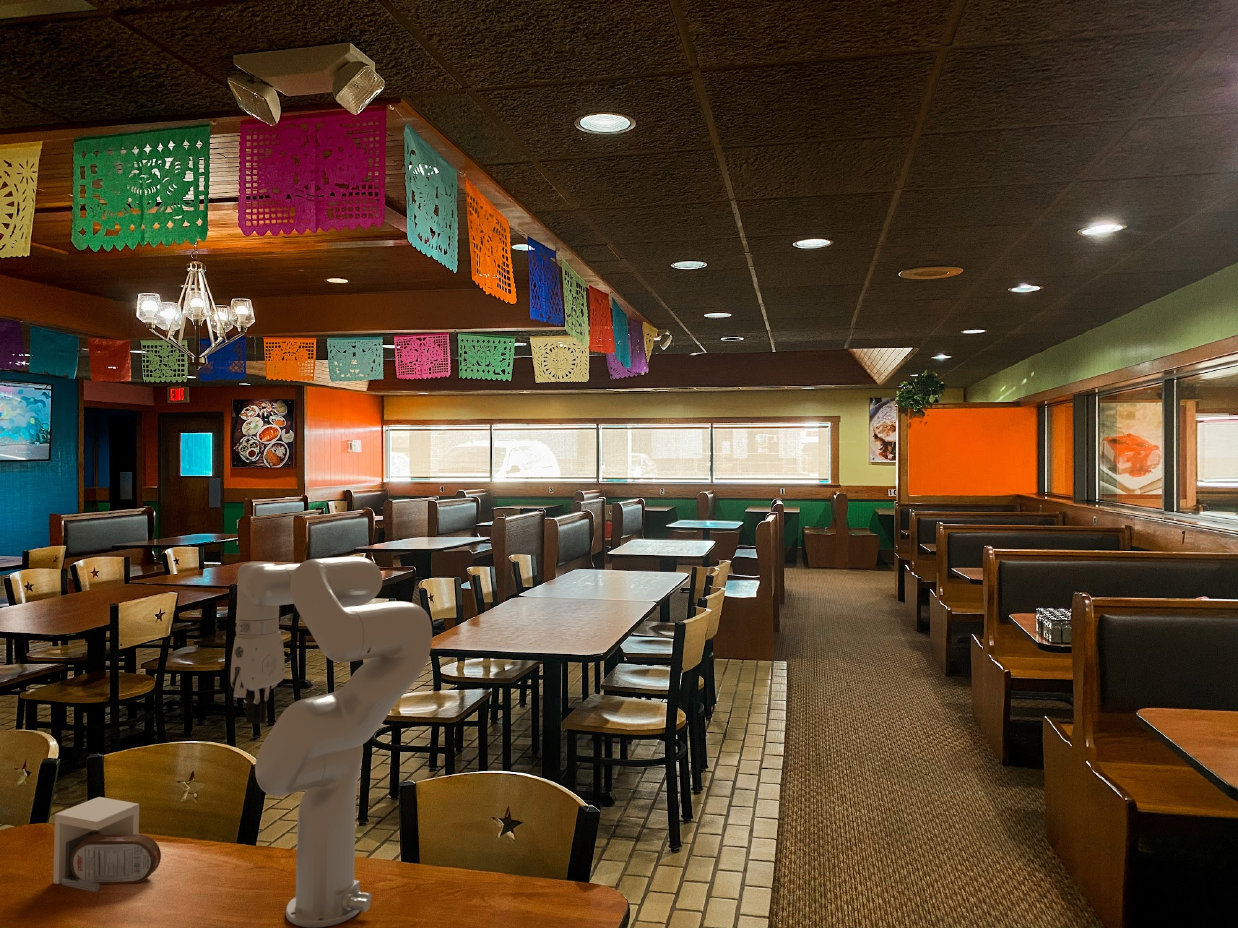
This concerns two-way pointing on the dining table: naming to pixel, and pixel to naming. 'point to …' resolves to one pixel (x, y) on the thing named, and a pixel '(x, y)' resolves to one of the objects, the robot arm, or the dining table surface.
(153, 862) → the tin
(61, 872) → the white u-channel
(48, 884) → the dining table surface
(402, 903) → the dining table surface
